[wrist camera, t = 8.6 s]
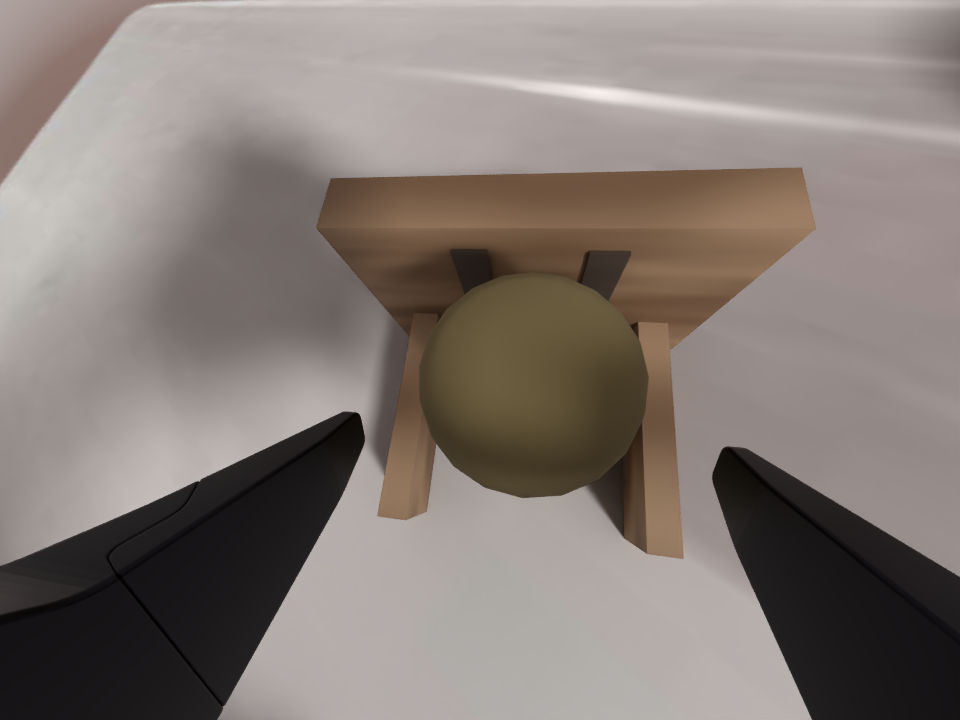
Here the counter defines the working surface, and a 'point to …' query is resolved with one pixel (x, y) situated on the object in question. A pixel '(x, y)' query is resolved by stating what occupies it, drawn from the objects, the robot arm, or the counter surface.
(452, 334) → the cork
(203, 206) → the counter surface
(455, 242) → the post bracket
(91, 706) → the robot arm
